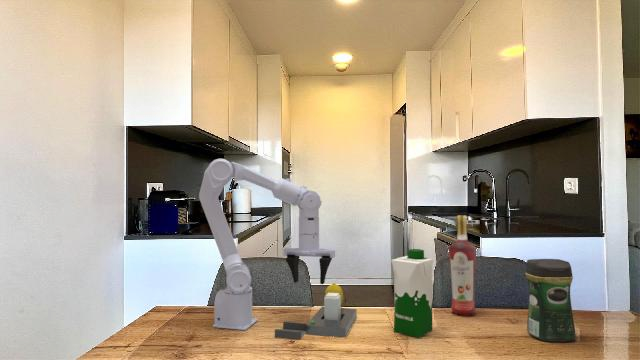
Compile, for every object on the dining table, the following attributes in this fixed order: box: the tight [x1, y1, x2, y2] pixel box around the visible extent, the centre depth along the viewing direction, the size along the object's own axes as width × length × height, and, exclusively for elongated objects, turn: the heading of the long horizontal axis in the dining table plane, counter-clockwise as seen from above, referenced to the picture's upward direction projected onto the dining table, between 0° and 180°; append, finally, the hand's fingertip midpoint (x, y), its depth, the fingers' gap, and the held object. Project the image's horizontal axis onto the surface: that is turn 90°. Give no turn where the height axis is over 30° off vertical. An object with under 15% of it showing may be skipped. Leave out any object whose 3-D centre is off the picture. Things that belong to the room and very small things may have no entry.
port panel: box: [305, 306, 358, 338], centre depth 101 cm, size 10×16×3 cm, turn 165°
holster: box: [274, 320, 308, 341], centre depth 95 cm, size 6×7×2 cm
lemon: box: [324, 282, 344, 305], centre depth 114 cm, size 6×6×8 cm
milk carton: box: [390, 248, 434, 339], centre depth 97 cm, size 9×9×20 cm
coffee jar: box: [525, 258, 576, 342], centre depth 92 cm, size 10×8×19 cm
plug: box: [323, 293, 342, 321], centre depth 101 cm, size 4×4×8 cm
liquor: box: [448, 215, 477, 317], centre depth 111 cm, size 7×7×28 cm
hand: (309, 282), depth 107 cm, fingers open, 7 cm apart
